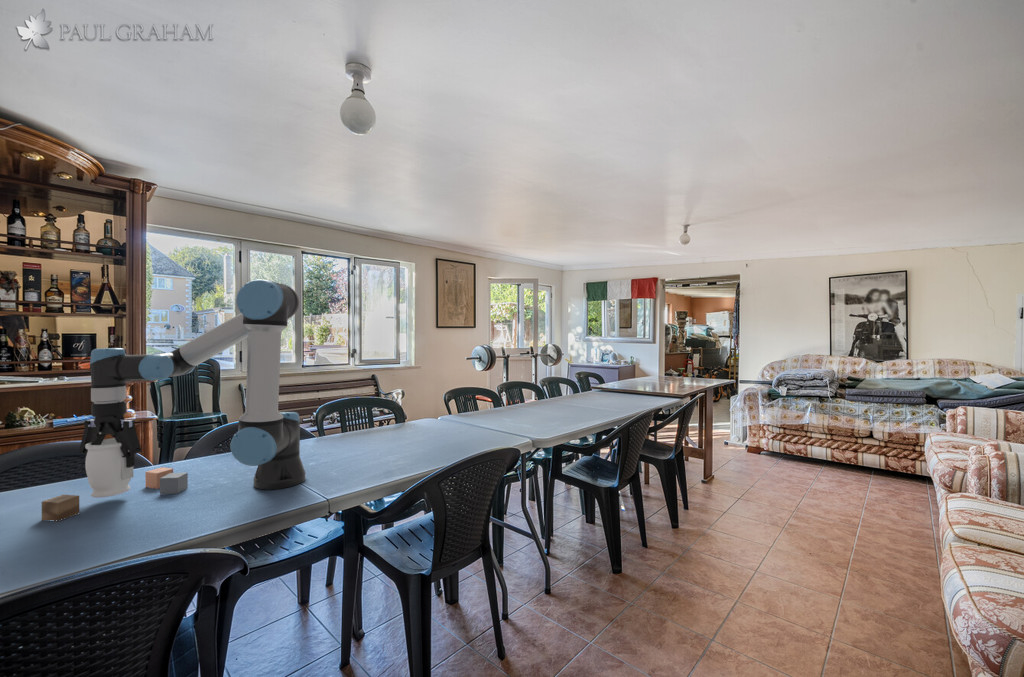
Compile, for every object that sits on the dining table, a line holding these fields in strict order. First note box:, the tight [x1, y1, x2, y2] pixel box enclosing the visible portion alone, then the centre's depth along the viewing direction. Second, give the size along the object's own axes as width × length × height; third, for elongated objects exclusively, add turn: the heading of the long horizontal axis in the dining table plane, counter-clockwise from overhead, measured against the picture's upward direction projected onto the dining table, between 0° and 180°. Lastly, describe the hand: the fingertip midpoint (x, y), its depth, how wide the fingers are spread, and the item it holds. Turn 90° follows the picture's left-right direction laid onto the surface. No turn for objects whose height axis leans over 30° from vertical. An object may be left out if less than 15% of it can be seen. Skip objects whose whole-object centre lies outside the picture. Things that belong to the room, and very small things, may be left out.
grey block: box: [159, 472, 189, 495], centre depth 137 cm, size 5×5×5 cm
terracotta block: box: [145, 466, 174, 490], centre depth 142 cm, size 5×5×5 cm
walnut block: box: [41, 494, 80, 522], centre depth 118 cm, size 5×5×5 cm
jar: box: [84, 437, 135, 499], centre depth 128 cm, size 11×10×15 cm
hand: (110, 477), depth 128 cm, fingers closed on jar, 10 cm apart
